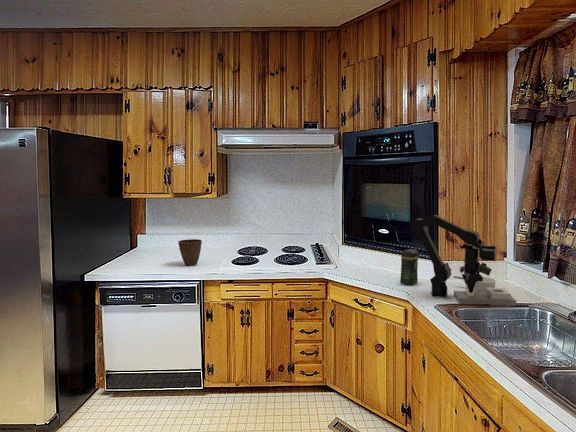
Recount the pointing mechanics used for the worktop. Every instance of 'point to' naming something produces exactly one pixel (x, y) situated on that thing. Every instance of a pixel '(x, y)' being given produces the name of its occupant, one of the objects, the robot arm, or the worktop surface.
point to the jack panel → (486, 297)
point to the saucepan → (482, 284)
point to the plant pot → (190, 251)
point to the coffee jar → (409, 267)
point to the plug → (469, 292)
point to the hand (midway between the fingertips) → (470, 291)
